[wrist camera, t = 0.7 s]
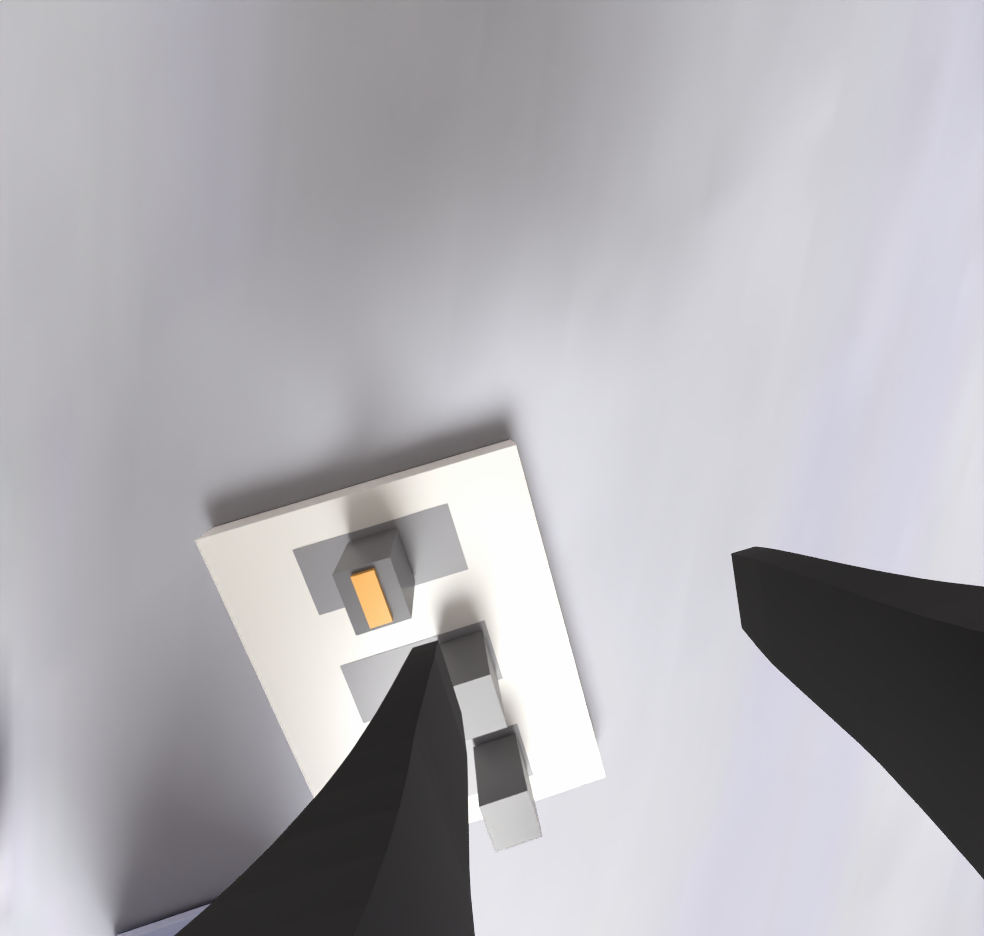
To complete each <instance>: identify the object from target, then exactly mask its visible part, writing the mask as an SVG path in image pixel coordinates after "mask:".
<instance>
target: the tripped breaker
mask: <svg viewBox="0 0 984 936" xmlns="http://www.w3.org/2000/svg"><path fill="white" fill-rule="evenodd" d="M332 576H333V578H334V581H335V583H336V586H337V589H338V591H339V594H340V596H341V599H342V601H343V604H344V606H345V609H346V611H347V614H348V617H349V619H350V622H351V624H352V627H353V629H354V632H355V634H356V636H357V635H360V634H363V633H367V632H370V631H373V630H376V629H379V628H383V627H386V626H389V625H392V624H395V623H399V622H402V621H405V620H408V619H411V618H412V609H413V599H414V588H415V578H414V575H413V573H412V570H411V567H410V564H409V561H408V558H407V555H406V552H405V550H404V547H403V544H402V541H401V538H400V535H399V532H398V529H397V528H394V529H391V530H387V531H384V532H381V533H377V534H374V535H371V536H368V537H364V538H361V539H358V540H354V541H351V542H348V544H347V546H346V548H345V550H344V552H343V554H342V556H341V558H340V560H339V562H338V564H337V566H336V568H335V570H334V572H333V574H332Z"/></svg>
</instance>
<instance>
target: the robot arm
mask: <svg viewBox="0 0 984 936" xmlns="http://www.w3.org/2000/svg"><path fill="white" fill-rule="evenodd" d="M731 555H732V562H733V569H734V576H735V583H736V590H737V597H738V604H739V611H740V618H741V625H742V629H743V630H744V631H745V632H746V634H747V635H748V636H749V637H750V639H751V640H752V641H753V642H754V643H755V645H756V646H757V647H758V648H759V649H760V650H761V652H762V653H763V654H764V655H765V656H766V657H767V658H768V660H769V661H770V662H771V663H772V664H773V665H774V666H775V667H776V668H777V669H778V670H779V671H780V672H782V673H783V674H784V675H785V676H786V677H787V678H788V679H789V680H790V681H791V682H792V683H793V684H795V685H796V686H797V687H798V688H799V689H800V690H801V691H802V692H803V693H804V694H805V695H807V696H808V697H809V698H810V699H811V700H812V701H813V702H814V703H815V704H816V705H818V706H819V707H820V708H821V709H822V710H823V711H824V712H825V713H826V714H827V715H829V716H830V717H831V718H832V719H833V720H834V721H835V722H836V723H837V724H838V725H840V726H841V727H842V728H843V729H844V730H845V731H846V732H847V733H848V734H849V735H851V736H852V737H853V738H854V739H855V740H856V741H857V742H858V743H859V744H860V745H861V746H862V747H863V748H864V749H865V750H867V751H868V752H869V753H870V754H871V755H872V756H873V757H874V758H875V759H876V760H877V761H878V762H879V763H880V764H881V765H882V766H883V767H884V769H885V770H886V771H887V772H888V773H889V774H890V775H891V776H892V777H893V778H894V779H895V780H896V781H897V783H898V784H899V785H900V786H901V787H902V788H903V789H904V790H905V791H906V792H907V793H908V794H909V795H910V797H911V798H912V799H913V800H914V801H915V802H916V803H917V804H918V805H919V806H920V807H921V808H922V809H923V811H924V812H925V813H926V814H927V815H928V816H929V817H930V819H931V820H932V821H933V822H934V823H935V824H936V825H937V826H938V828H939V829H940V830H941V831H942V832H943V833H944V834H945V835H946V837H947V838H948V839H949V840H950V841H951V842H952V843H953V844H954V846H955V847H956V848H957V849H958V850H959V851H960V852H961V854H962V855H963V856H964V857H965V858H966V859H967V860H968V861H969V863H970V864H971V865H972V866H973V867H974V868H975V870H976V871H977V872H978V873H979V874H980V875H981V877H982V878H983V879H984V587H982V586H974V585H965V584H957V583H949V582H941V581H934V580H928V579H921V578H915V577H910V576H904V575H898V574H892V573H887V572H881V571H876V570H871V569H866V568H861V567H856V566H851V565H847V564H842V563H837V562H833V561H828V560H823V559H819V558H814V557H810V556H805V555H800V554H796V553H791V552H786V551H781V550H776V549H770V548H763V547H752V548H749V549H745V550H742V551H739V552H735V553H732V554H731ZM116 936H475V933H474V923H473V913H472V903H471V891H470V872H469V815H468V761H467V750H466V742H465V734H464V726H463V719H462V713H461V709H460V706H459V703H458V700H457V697H456V694H455V691H454V688H453V684H452V681H451V678H450V675H449V672H448V669H447V666H446V663H445V660H444V656H443V653H442V650H441V647H440V644H439V641H438V640H437V641H433V642H430V643H426V644H423V645H420V646H416V647H413V648H412V650H411V651H410V653H409V655H408V656H407V658H406V660H405V662H404V664H403V665H402V667H401V669H400V671H399V673H398V675H397V677H396V678H395V680H394V682H393V684H392V686H391V688H390V689H389V691H388V693H387V695H386V696H385V698H384V700H383V701H382V703H381V705H380V707H379V708H378V710H377V712H376V713H375V715H374V717H373V718H372V720H371V721H370V723H369V724H368V726H367V728H366V729H365V731H364V732H363V734H362V735H361V737H360V738H359V740H358V741H357V743H356V744H355V746H354V747H353V749H352V750H351V752H350V753H349V754H348V756H347V757H346V758H345V760H344V761H343V763H342V764H341V765H340V767H339V768H338V769H337V770H336V772H335V773H334V774H333V776H332V777H331V778H330V779H329V781H328V782H327V783H326V784H325V786H324V787H323V788H322V789H321V791H320V792H319V793H318V794H317V795H316V797H315V798H314V799H313V800H312V801H311V802H310V803H309V805H308V806H307V807H306V808H305V809H304V810H303V811H302V812H301V813H300V815H299V816H298V817H297V818H296V819H295V820H294V821H293V822H292V823H291V825H290V826H289V827H288V828H287V829H286V830H285V831H284V832H283V833H282V835H281V836H280V837H279V838H278V839H277V840H276V841H275V842H274V843H273V844H272V845H271V846H270V847H269V848H268V849H267V850H266V851H265V852H264V853H263V854H262V855H261V856H260V857H259V858H258V859H257V860H256V861H255V862H254V863H253V864H252V865H251V866H250V867H249V868H248V869H247V870H246V871H245V872H244V873H243V874H242V875H241V876H240V877H239V878H238V879H237V880H236V881H235V882H234V883H233V884H232V885H231V886H229V887H228V888H227V889H226V890H225V891H224V892H223V893H222V894H221V895H220V896H219V897H218V898H217V899H215V900H214V901H213V902H212V903H211V904H208V905H205V906H202V907H199V908H196V909H193V910H190V911H187V912H184V913H181V914H178V915H175V916H172V917H169V918H166V919H163V920H160V921H157V922H154V923H151V924H148V925H145V926H142V927H139V928H136V929H133V930H131V931H128V932H125V933H122V934H119V935H116Z"/></svg>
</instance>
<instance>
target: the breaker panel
mask: <svg viewBox="0 0 984 936" xmlns="http://www.w3.org/2000/svg"><path fill="white" fill-rule="evenodd" d="M394 528H397V529H398V532H399V535H400V538H401V541H402V544H403V547H404V550H405V552H406V555H407V558H408V561H409V564H410V567H411V570H412V573H413V575H414V578H415V588H414V599H413V609H412V618H411V619H408V620H405V621H402V622H399V623H395V624H392V625H389V626H386V627H383V628H379V629H376V630H373V631H370V632H367V633H363V634H360V635H357V636H356V634H355V632H354V629H353V627H352V624H351V622H350V619H349V617H348V614H347V611H346V609H345V606H344V604H343V601H342V599H341V596H340V594H339V591H338V589H337V586H336V583H335V581H334V578H333V576H332V574H333V572H334V570H335V568H336V566H337V564H338V562H339V560H340V558H341V556H342V554H343V552H344V550H345V548H346V546H347V544H348V542H351V541H354V540H358V539H361V538H364V537H368V536H371V535H374V534H377V533H381V532H384V531H387V530H391V529H394ZM195 542H196V544H197V546H198V549H199V551H200V553H201V555H202V557H203V559H204V562H205V564H206V566H207V568H208V570H209V572H210V575H211V577H212V579H213V581H214V583H215V585H216V588H217V590H218V592H219V594H220V596H221V598H222V601H223V603H224V605H225V607H226V609H227V611H228V614H229V616H230V618H231V620H232V622H233V624H234V627H235V629H236V631H237V633H238V635H239V638H240V640H241V642H242V644H243V646H244V648H245V651H246V653H247V655H248V657H249V659H250V661H251V664H252V666H253V668H254V670H255V672H256V674H257V677H258V679H259V681H260V683H261V685H262V687H263V690H264V692H265V694H266V696H267V698H268V700H269V703H270V705H271V707H272V709H273V711H274V713H275V716H276V718H277V720H278V722H279V724H280V726H281V729H282V731H283V733H284V735H285V737H286V739H287V742H288V744H289V746H290V748H291V750H292V752H293V755H294V757H295V759H296V761H297V763H298V765H299V768H300V770H301V772H302V774H303V776H304V778H305V781H306V783H307V785H308V787H309V789H310V791H311V794H312V796H313V798H315V797H316V795H317V794H318V793H319V792H320V791H321V789H322V788H323V787H324V786H325V784H326V783H327V782H328V781H329V779H330V778H331V777H332V776H333V774H334V773H335V772H336V770H337V769H338V768H339V767H340V765H341V764H342V763H343V761H344V760H345V758H346V757H347V756H348V754H349V753H350V752H351V750H352V749H353V747H354V746H355V744H356V743H357V741H358V740H359V738H360V737H361V735H362V734H363V732H364V731H365V729H366V728H367V726H368V724H369V723H370V721H371V720H372V718H373V717H374V715H375V713H376V712H377V710H378V708H379V707H380V705H381V703H382V701H383V700H384V698H385V696H386V695H387V693H388V691H389V689H390V688H391V686H392V684H393V682H394V680H395V678H396V677H397V675H398V673H399V671H400V669H401V667H402V665H403V664H404V662H405V660H406V658H407V656H408V655H409V653H410V651H411V650H412V648H413V647H416V646H420V645H423V644H426V643H430V642H433V641H437V640H438V641H439V644H440V647H441V650H442V653H443V656H444V660H445V663H446V666H447V669H448V672H449V675H450V678H451V681H452V684H453V688H454V691H455V694H456V697H457V700H458V703H459V706H460V709H461V713H462V719H463V726H464V734H465V742H466V750H467V761H468V815H469V823H472V822H475V821H477V820H480V819H483V820H484V822H485V825H486V828H487V831H488V834H489V836H490V839H491V842H492V845H493V848H494V850H495V852H498V851H501V850H504V849H507V848H510V847H513V846H516V845H519V844H522V843H525V842H528V841H530V840H533V839H536V838H539V837H542V833H541V828H540V824H539V819H538V815H537V810H536V806H535V802H534V801H537V800H540V799H543V798H546V797H549V796H552V795H554V794H557V793H560V792H563V791H566V790H569V789H572V788H575V787H578V786H581V785H584V784H587V783H590V782H593V781H596V780H599V779H602V778H605V777H606V776H605V772H604V769H603V765H602V761H601V757H600V754H599V750H598V746H597V743H596V739H595V735H594V732H593V728H592V724H591V720H590V717H589V713H588V709H587V706H586V702H585V698H584V694H583V691H582V687H581V683H580V680H579V676H578V672H577V669H576V665H575V661H574V657H573V654H572V650H571V646H570V643H569V639H568V635H567V631H566V628H565V624H564V620H563V617H562V613H561V609H560V606H559V602H558V598H557V594H556V591H555V587H554V583H553V580H552V576H551V572H550V569H549V565H548V561H547V557H546V554H545V550H544V546H543V543H542V539H541V535H540V531H539V528H538V524H537V520H536V517H535V513H534V509H533V506H532V502H531V498H530V494H529V491H528V487H527V483H526V480H525V476H524V472H523V468H522V465H521V461H520V457H519V454H518V450H517V446H516V444H515V443H514V442H513V441H512V440H511V439H509V440H506V441H503V442H499V443H496V444H493V445H489V446H486V447H482V448H479V449H476V450H472V451H469V452H466V453H462V454H459V455H455V456H452V457H449V458H445V459H442V460H439V461H435V462H432V463H429V464H425V465H422V466H418V467H415V468H412V469H408V470H405V471H402V472H398V473H395V474H391V475H388V476H385V477H381V478H378V479H375V480H371V481H368V482H364V483H361V484H358V485H354V486H351V487H348V488H344V489H341V490H338V491H334V492H331V493H327V494H324V495H321V496H317V497H314V498H311V499H307V500H304V501H300V502H297V503H294V504H290V505H287V506H284V507H280V508H277V509H273V510H270V511H267V512H263V513H260V514H257V515H253V516H250V517H247V518H243V519H240V520H236V521H233V522H230V523H226V524H223V525H220V526H216V527H213V528H211V529H210V530H209V531H207V532H206V533H204V534H203V535H202V536H200V537H199V538H198V539H196V540H195Z"/></svg>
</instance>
